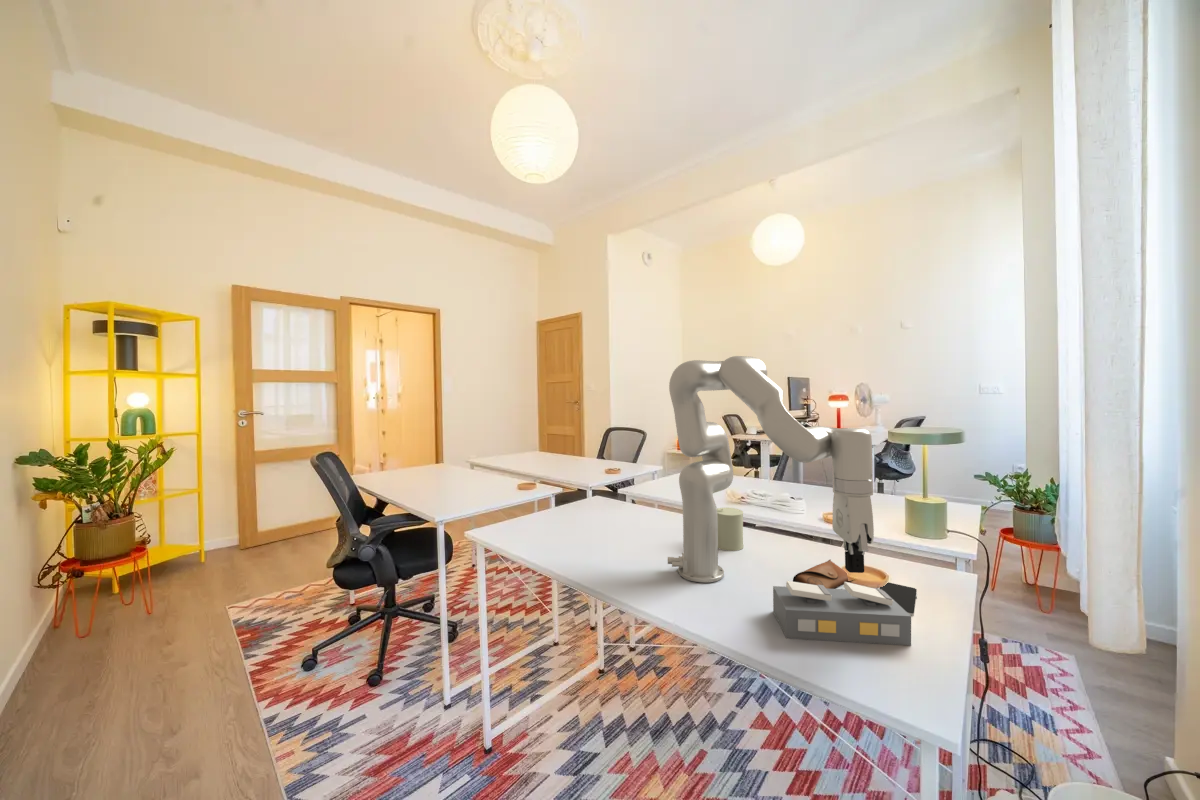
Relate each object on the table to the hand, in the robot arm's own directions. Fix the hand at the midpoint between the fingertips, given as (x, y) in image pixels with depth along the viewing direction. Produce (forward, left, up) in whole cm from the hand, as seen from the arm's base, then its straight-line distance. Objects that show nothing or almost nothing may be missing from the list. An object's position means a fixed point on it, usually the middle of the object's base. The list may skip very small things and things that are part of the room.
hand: (854, 570), depth 95 cm
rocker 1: (-9, 0, -6) cm, 11 cm away
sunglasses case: (+2, +23, -14) cm, 27 cm away
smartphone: (+16, +16, -13) cm, 26 cm away
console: (-3, 0, -13) cm, 13 cm away
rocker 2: (+3, 0, -6) cm, 6 cm away
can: (-19, +48, -13) cm, 54 cm away
